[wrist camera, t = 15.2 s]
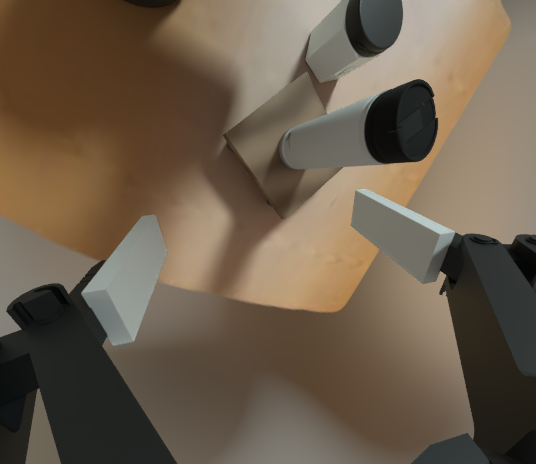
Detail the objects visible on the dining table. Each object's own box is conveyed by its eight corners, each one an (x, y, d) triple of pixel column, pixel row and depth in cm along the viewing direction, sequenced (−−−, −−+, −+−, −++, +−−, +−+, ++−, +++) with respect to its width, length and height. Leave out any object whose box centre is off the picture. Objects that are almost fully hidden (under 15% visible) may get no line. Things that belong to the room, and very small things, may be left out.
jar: (309, 87, 40) (361, 54, 29) (299, 32, 37) (352, -26, 26) (347, 78, 42) (407, 45, 32) (340, 27, 40) (404, -29, 29)
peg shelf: (216, 140, 36) (225, 133, 30) (287, 85, 38) (306, 70, 33) (270, 214, 42) (285, 219, 37) (327, 163, 45) (348, 162, 40)
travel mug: (269, 141, 33) (387, 99, 15) (302, 120, 34) (445, 59, 16) (287, 178, 35) (406, 179, 18) (317, 157, 37) (456, 138, 19)
